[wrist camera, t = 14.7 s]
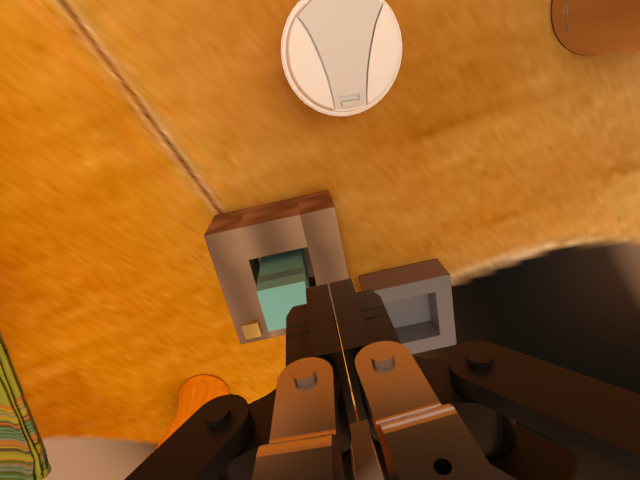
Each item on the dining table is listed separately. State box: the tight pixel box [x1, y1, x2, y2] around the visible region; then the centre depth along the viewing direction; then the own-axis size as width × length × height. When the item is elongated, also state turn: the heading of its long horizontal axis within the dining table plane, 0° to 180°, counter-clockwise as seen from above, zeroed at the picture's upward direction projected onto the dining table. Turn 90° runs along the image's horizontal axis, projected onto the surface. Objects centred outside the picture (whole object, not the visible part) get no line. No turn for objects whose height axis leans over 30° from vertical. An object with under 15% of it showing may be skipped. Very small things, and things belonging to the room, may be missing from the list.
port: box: [204, 191, 349, 344], centre depth 40 cm, size 12×12×7 cm
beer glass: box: [156, 375, 230, 449], centre depth 42 cm, size 7×7×15 cm
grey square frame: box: [359, 259, 456, 354], centre depth 45 cm, size 9×9×4 cm
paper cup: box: [281, 0, 402, 116], centre depth 30 cm, size 8×8×14 cm
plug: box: [256, 248, 310, 332], centre depth 38 cm, size 4×4×10 cm
